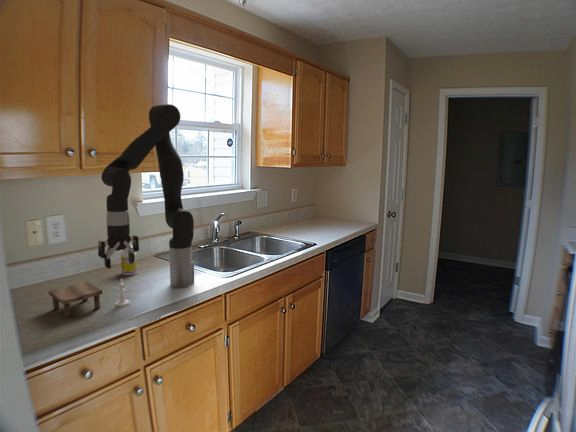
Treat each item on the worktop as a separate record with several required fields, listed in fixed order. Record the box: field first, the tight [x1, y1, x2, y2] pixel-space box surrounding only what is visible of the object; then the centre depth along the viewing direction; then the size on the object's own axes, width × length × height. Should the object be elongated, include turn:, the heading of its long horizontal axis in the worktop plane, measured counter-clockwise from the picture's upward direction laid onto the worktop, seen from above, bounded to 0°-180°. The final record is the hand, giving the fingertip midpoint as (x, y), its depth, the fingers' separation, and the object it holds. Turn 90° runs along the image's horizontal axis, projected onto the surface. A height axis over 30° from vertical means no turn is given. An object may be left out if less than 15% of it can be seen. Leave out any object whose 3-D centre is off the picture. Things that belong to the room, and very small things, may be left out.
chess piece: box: [115, 278, 130, 308], centre depth 140 cm, size 5×5×10 cm
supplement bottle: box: [120, 245, 138, 276], centre depth 173 cm, size 7×7×13 cm
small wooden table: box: [48, 281, 103, 320], centre depth 135 cm, size 13×13×7 cm
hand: (120, 265), depth 138 cm, fingers open, 8 cm apart
